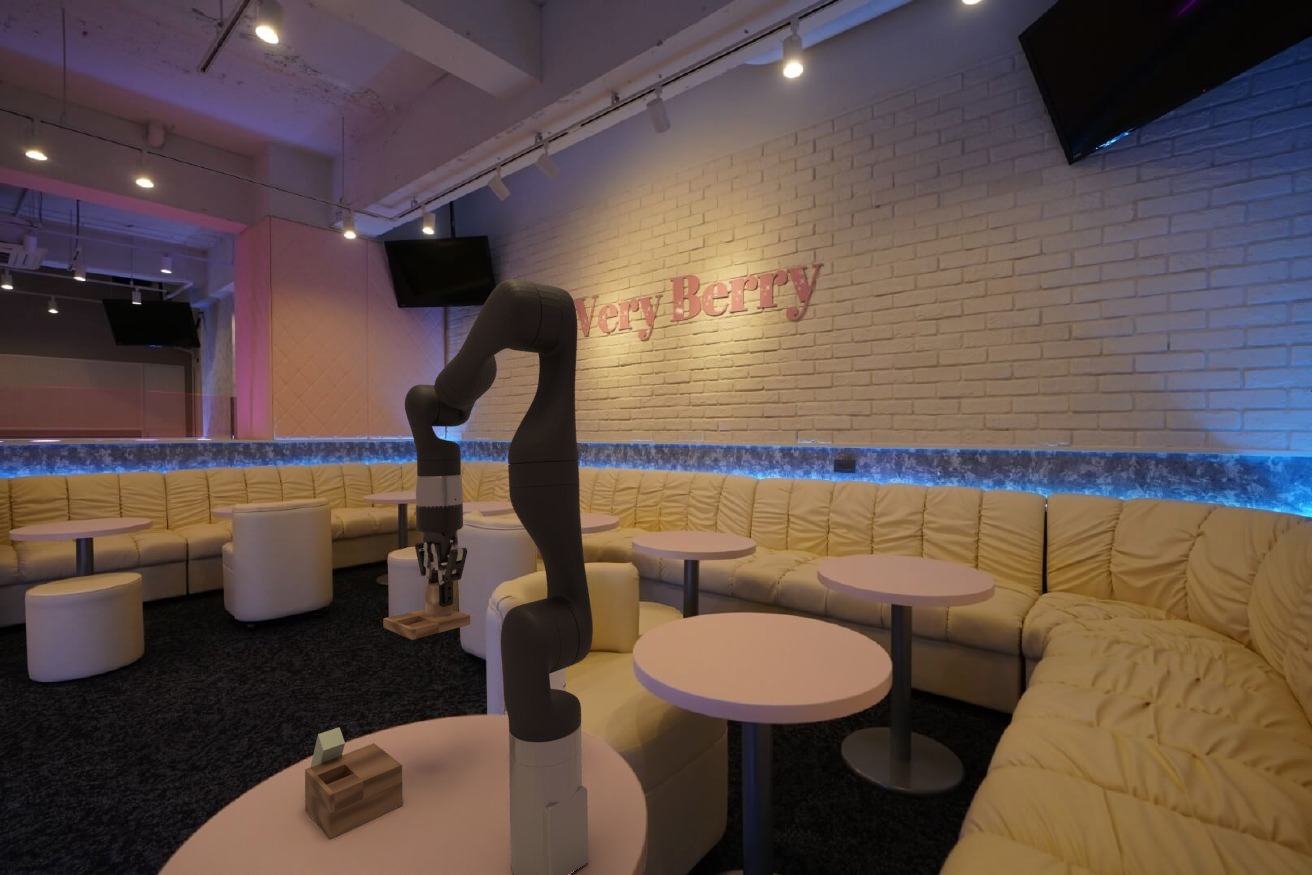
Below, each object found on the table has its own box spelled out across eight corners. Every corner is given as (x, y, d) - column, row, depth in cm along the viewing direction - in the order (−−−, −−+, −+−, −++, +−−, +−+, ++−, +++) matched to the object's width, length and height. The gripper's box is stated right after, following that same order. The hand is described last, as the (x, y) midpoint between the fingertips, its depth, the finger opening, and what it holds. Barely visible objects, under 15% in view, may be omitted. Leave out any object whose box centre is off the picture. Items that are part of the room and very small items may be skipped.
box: (402, 805, 87) (402, 764, 87) (330, 839, 80) (329, 795, 80) (374, 780, 94) (374, 743, 94) (305, 809, 86) (305, 769, 87)
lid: (470, 624, 97) (469, 585, 97) (412, 639, 90) (411, 597, 90) (440, 614, 104) (439, 577, 104) (383, 627, 96) (383, 588, 96)
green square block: (345, 742, 89) (334, 784, 93) (339, 727, 91) (329, 768, 95) (323, 750, 87) (313, 792, 91) (318, 734, 89) (308, 776, 93)
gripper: (481, 502, 97) (483, 606, 97) (439, 498, 107) (440, 593, 106) (439, 506, 92) (441, 616, 91) (398, 502, 101) (399, 602, 101)
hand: (440, 603), depth 99 cm, fingers closed on lid, 3 cm apart
